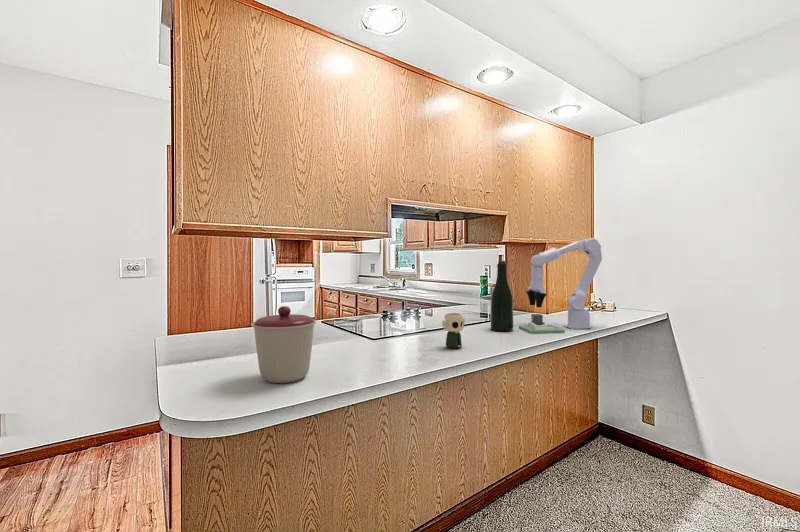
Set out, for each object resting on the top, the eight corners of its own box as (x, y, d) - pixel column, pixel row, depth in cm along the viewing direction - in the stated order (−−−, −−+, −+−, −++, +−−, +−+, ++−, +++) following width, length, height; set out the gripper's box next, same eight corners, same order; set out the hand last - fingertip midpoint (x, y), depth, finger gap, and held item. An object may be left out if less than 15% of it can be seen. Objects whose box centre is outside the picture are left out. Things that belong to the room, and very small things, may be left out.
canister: (292, 366, 132) (291, 301, 132) (329, 376, 121) (328, 305, 120) (239, 379, 118) (238, 306, 118) (276, 392, 107) (275, 312, 106)
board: (550, 327, 201) (550, 320, 201) (564, 332, 187) (564, 324, 187) (518, 328, 199) (518, 320, 199) (530, 333, 185) (530, 325, 185)
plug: (542, 325, 207) (542, 313, 207) (546, 327, 203) (546, 314, 203) (530, 325, 206) (530, 314, 206) (533, 327, 202) (533, 315, 202)
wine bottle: (486, 328, 198) (486, 260, 197) (505, 327, 201) (505, 260, 200) (497, 332, 188) (498, 260, 187) (517, 331, 191) (517, 260, 190)
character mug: (448, 351, 152) (448, 316, 152) (436, 347, 158) (436, 314, 158) (470, 347, 158) (470, 314, 158) (458, 344, 164) (458, 311, 164)
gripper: (523, 277, 210) (522, 304, 211) (535, 279, 196) (534, 308, 196) (536, 278, 211) (535, 304, 212) (549, 280, 197) (548, 308, 197)
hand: (535, 306), depth 204 cm, fingers open, 7 cm apart
